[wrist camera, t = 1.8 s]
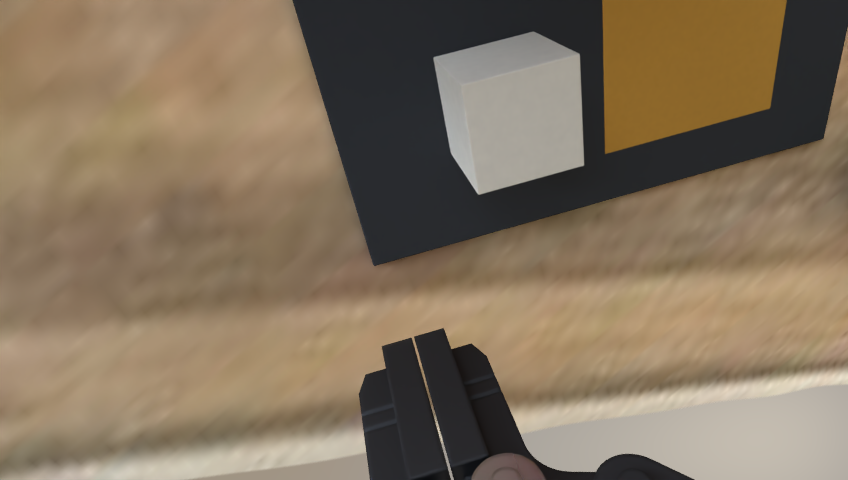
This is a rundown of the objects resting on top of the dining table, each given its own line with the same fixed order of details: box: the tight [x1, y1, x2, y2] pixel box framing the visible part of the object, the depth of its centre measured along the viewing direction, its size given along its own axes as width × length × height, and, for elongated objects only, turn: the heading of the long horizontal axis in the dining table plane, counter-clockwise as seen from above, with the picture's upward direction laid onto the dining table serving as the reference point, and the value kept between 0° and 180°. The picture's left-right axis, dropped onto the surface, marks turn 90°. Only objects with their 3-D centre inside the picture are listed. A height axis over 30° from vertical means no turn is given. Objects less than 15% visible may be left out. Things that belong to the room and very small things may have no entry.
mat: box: [293, 0, 848, 266], centre depth 28 cm, size 16×28×1 cm, turn 102°
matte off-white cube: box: [433, 32, 584, 195], centre depth 25 cm, size 5×5×5 cm
